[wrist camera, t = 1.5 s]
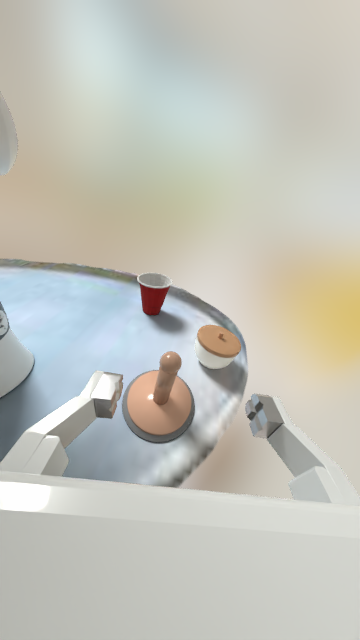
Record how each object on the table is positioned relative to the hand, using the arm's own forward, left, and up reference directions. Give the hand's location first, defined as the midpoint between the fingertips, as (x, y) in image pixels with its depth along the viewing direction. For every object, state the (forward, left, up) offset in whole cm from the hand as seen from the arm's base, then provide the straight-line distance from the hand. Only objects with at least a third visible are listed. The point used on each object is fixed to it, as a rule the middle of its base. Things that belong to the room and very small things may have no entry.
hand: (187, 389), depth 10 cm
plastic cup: (+6, +43, -22) cm, 48 cm away
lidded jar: (+18, +20, -22) cm, 35 cm away
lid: (+3, +11, -21) cm, 24 cm away
